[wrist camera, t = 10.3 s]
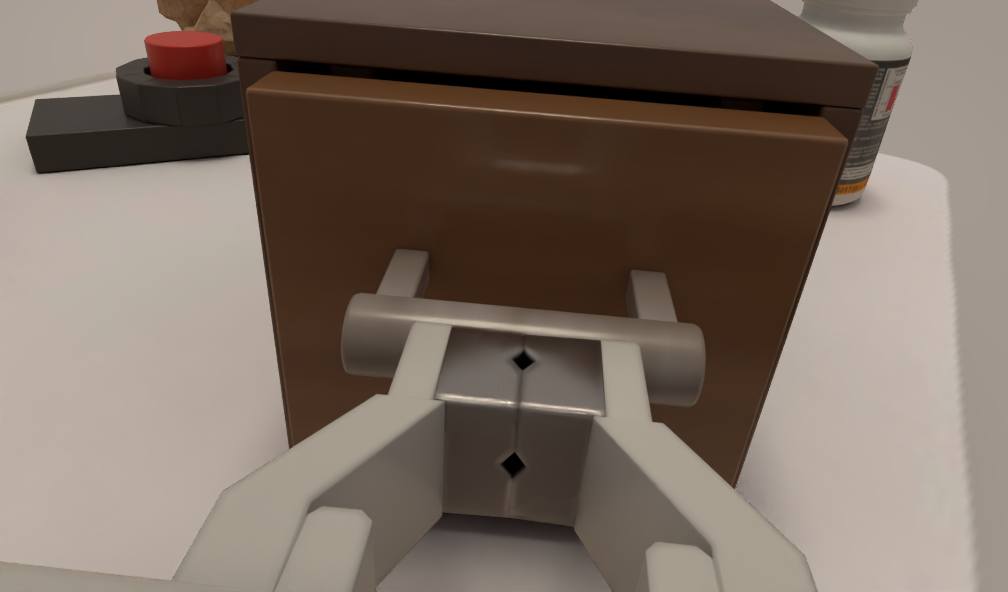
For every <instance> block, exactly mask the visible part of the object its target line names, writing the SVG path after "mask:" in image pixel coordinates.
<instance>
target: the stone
mask: <svg viewBox="0 0 1008 592" xmlns="http://www.w3.org/2000/svg"><path fill="white" fill-rule="evenodd" d="M257 1H260V0H157V4H158V9H159V13H161V14H162V15H163V16H164V17H166V18H168V19H170V20H173V21H176V22H177V23H178V25H179V27H180V28H181V30H182V31H198V32H207V33H212V34H216V35H219V36H220V37H221V38H222V40H223V47H224V54H225V55H227V56H235V57H239V56H237V55H236V54H235V49H234V42H233V34H232V27H231V20H230V13H231V12H233V11H236V10H238V9H240V8H243V7H245V6H248V5H250V4H252V3H255V2H257Z"/></svg>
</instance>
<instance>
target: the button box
mask: <svg viewBox="0 0 1008 592" xmlns="http://www.w3.org/2000/svg"><path fill="white" fill-rule="evenodd" d="M237 58H238V57H235V56H226V55H225V61H226V68H227V74H226V75H223V76H218V77H213V78H208V79H194V80H171V79H160V78H155V77H152V76H151V71H150V67H149V62H148V58H142V59H137V60H133V61H131V62H129V63H127V64H124V65H122V66H120V67H117V68H116V78H117V82H118V87H119V91H120V95H104V96H86V97H69V98H51V99H36V100H35V103H34V107H33V111H32V115H31V119H30V122H29V126H28V130H27V134H26V140H27V143H28V146H29V150H30V153H31V156H32V159H33V162H34V166H35V169H36V172H38V173H41V172H52V171H63V170H73V169H84V168H95V167H106V166H116V165H127V164H138V163H149V162H160V161H170V160H181V159H192V158H203V157H213V156H224V155H235V154H246V153H249V148H248V141H247V133H246V126H245V119H244V111H243V104H242V97H241V89H240V82H239V75H238V67H237Z"/></svg>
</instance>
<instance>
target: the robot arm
mask: <svg viewBox="0 0 1008 592" xmlns="http://www.w3.org/2000/svg"><path fill="white" fill-rule="evenodd" d="M442 512H445V513H457V514H470V515H482V516H495V517H508V514H509V517H508V518H515V519H522V520H530V521H537V522H545V523H552V524H560V525H567V526H574V530H575V532H576V534H577V535H578V537H579V538H580V540H581V542H582V543H583V545H584V547H585V548H586V550H587V551H588V553H589V555H590V556H591V558H592V559H593V561H594V563H595V564H596V566H597V568H598V569H599V571H600V572H601V574H602V576H603V577H604V579H605V580H606V582H607V584H608V585H609V587H610V588H611V590H612V592H818V591H817V588H816V585H815V582H814V579H813V576H812V574H811V571H810V568H809V565H808V562H807V559H806V557H805V555H804V554H803V553H802V552H801V551H800V550H799V549H798V548H797V547H796V546H795V545H793V544H792V543H791V542H790V541H789V540H788V539H787V538H786V537H785V536H784V535H783V534H782V533H781V532H780V531H778V530H777V529H776V528H775V527H774V526H773V525H772V524H771V523H770V522H769V521H768V520H767V519H766V518H765V517H763V516H762V515H761V514H760V513H759V512H758V511H757V510H756V509H755V508H754V507H753V506H752V505H751V504H750V503H748V502H747V501H746V500H745V499H744V498H743V497H742V496H741V495H740V494H739V493H738V492H737V491H736V490H735V489H733V488H732V487H731V486H730V485H729V484H728V483H727V482H726V481H725V480H724V479H723V478H722V477H721V476H720V475H718V474H717V473H716V472H715V471H714V470H713V469H712V468H711V467H710V466H709V465H708V464H707V463H706V462H705V461H703V460H702V459H701V458H700V457H699V456H698V455H697V454H696V453H695V452H694V451H693V450H692V449H691V448H690V447H688V446H687V445H686V444H685V443H684V442H683V441H682V440H681V439H680V438H679V437H678V436H677V435H676V434H675V433H673V432H672V431H671V430H670V429H669V428H668V427H667V426H666V425H665V424H664V423H657V422H652V417H651V411H650V405H649V399H648V393H647V387H646V381H645V375H644V369H643V362H642V356H641V350H640V346H639V345H638V344H637V342H628V341H612V340H589V339H577V338H564V337H552V336H539V335H527V334H526V333H518V332H510V331H501V330H493V329H484V328H476V327H468V326H459V325H454V326H452V325H451V324H442V323H431V322H420V321H416V322H415V323H414V324H413V325H412V327H411V330H410V333H409V335H408V338H407V341H406V344H405V347H404V350H403V353H402V355H401V358H400V361H399V364H398V367H397V370H396V373H395V375H394V378H393V381H392V384H391V387H390V390H389V393H388V395H381V394H376V395H374V396H373V397H371V398H370V399H368V400H367V401H365V402H363V403H362V404H360V405H359V406H357V407H355V408H354V409H352V410H351V411H349V412H348V413H346V414H344V415H343V416H341V417H340V418H338V419H336V420H335V421H333V422H332V423H330V424H328V425H327V426H325V427H324V428H322V429H321V430H319V431H317V432H316V433H314V434H313V435H311V436H309V437H308V438H306V439H305V440H303V441H302V442H300V443H298V444H297V445H295V446H294V447H292V448H290V449H289V450H287V451H286V452H284V453H283V454H281V455H279V456H278V457H276V458H275V459H273V460H271V461H270V462H268V463H267V464H265V465H263V466H262V467H260V468H259V469H257V470H256V471H254V472H252V473H251V474H249V475H248V476H246V477H244V478H243V479H241V480H240V481H238V482H237V483H235V484H233V485H232V486H230V487H229V488H227V489H225V490H224V491H222V493H221V494H220V496H219V498H218V500H217V501H216V503H215V505H214V507H213V508H212V510H211V512H210V514H209V515H208V517H207V519H206V521H205V522H204V524H203V526H202V528H201V529H200V531H199V533H198V535H197V536H196V538H195V540H194V542H193V543H192V545H191V547H190V549H189V550H188V552H187V554H186V556H185V557H184V559H183V561H182V563H181V564H180V566H179V568H178V570H177V571H176V573H175V575H174V577H173V578H172V580H171V581H170V580H161V579H152V578H143V577H134V576H125V575H116V574H107V573H98V572H89V571H80V570H71V569H62V568H53V567H44V566H35V565H26V564H17V563H8V562H0V592H376V587H377V586H378V584H379V583H380V582H381V581H382V580H383V579H384V578H385V577H386V576H387V575H388V574H389V573H390V572H391V570H392V569H393V568H394V567H395V566H396V565H397V564H398V563H399V562H400V561H401V560H402V559H403V558H404V556H405V555H406V554H407V553H408V552H409V551H410V550H411V549H412V548H413V547H414V546H415V545H416V544H417V543H418V541H419V540H420V539H421V538H422V537H423V536H424V535H425V534H426V533H427V532H428V531H429V530H430V529H431V527H432V526H433V525H434V524H435V523H436V522H437V521H438V520H439V519H440V518H441V517H442Z"/></svg>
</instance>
